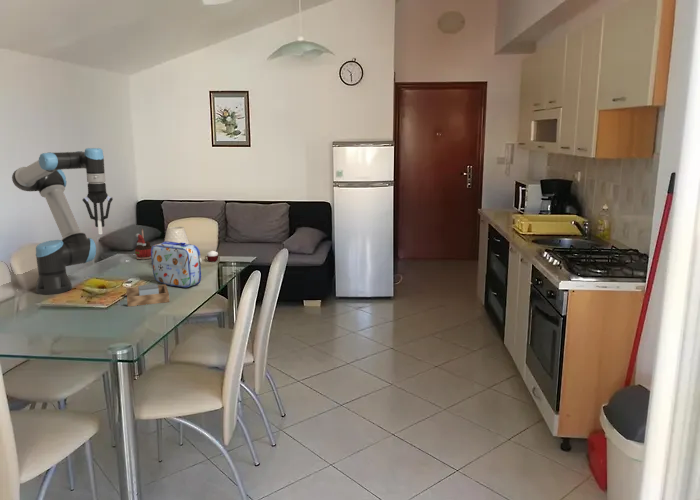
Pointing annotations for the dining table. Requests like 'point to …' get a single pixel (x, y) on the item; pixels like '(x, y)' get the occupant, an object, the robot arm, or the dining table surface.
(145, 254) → the cake
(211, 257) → the cocoa
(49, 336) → the dining table surface
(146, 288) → the gray block
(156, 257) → the lunch box
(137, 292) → the bay
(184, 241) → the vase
